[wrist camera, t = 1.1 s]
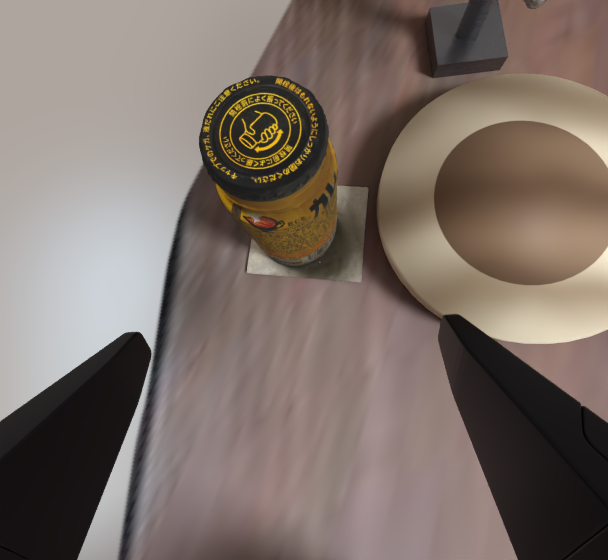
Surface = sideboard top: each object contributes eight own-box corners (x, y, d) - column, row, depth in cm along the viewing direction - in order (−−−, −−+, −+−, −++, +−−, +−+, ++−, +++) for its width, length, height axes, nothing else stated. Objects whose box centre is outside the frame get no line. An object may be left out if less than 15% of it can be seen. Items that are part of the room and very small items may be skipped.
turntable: (688, 334, 19) (718, 335, 18) (389, 349, 21) (393, 351, 19) (624, 75, 22) (645, 56, 21) (365, 105, 24) (368, 90, 22)
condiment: (259, 182, 25) (190, 49, 13) (368, 188, 24) (401, 51, 12) (247, 273, 24) (161, 219, 12) (360, 283, 23) (389, 235, 11)
